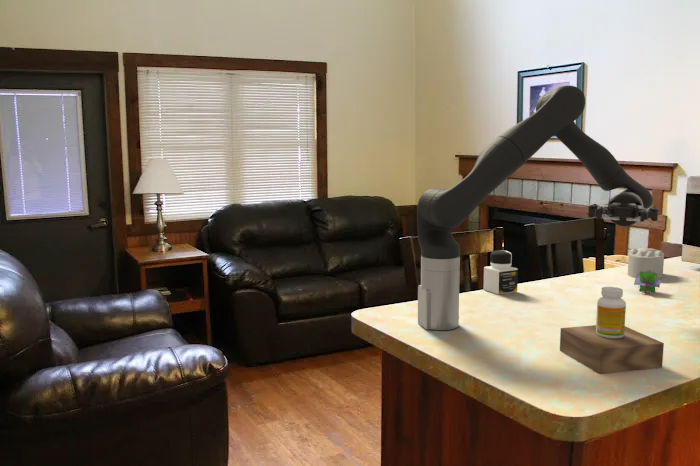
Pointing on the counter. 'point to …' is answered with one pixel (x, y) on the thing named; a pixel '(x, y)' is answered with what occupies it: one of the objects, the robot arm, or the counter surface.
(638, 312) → the counter surface
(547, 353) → the counter surface
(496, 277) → the medicine bottle
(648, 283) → the geometric puzzle
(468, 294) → the counter surface
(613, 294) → the supplement bottle
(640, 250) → the lumpy-topped squat cylinder
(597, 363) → the walnut block
